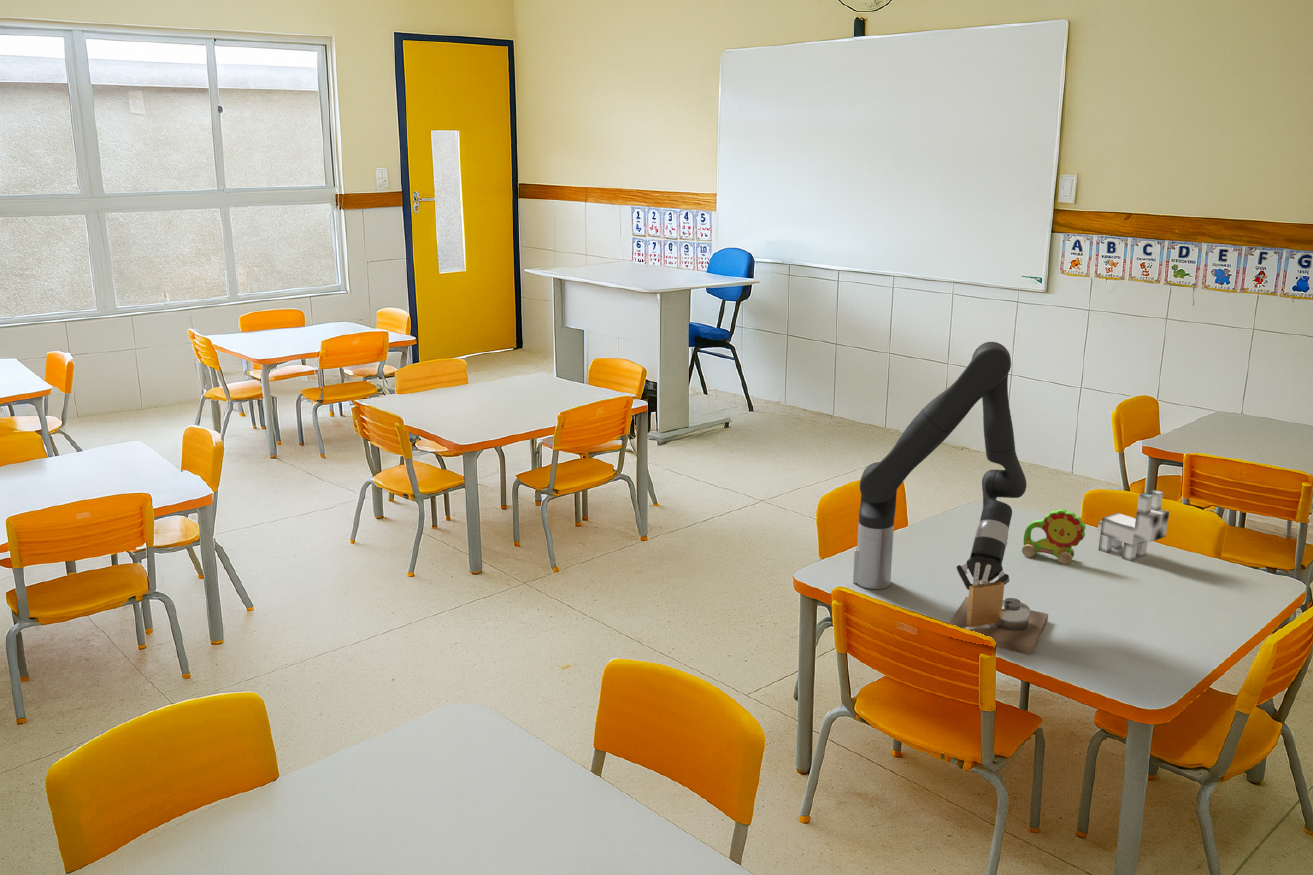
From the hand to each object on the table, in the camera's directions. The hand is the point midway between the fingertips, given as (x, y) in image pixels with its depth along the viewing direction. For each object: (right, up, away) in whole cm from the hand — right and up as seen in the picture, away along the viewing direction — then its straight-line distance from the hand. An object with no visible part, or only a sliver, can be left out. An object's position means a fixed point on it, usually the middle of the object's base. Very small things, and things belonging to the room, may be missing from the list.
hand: (975, 606), depth 237 cm
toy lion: (+37, +6, +46) cm, 59 cm away
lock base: (+7, -6, +5) cm, 10 cm away
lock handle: (+6, -4, +1) cm, 7 cm away
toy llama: (+59, +7, +49) cm, 77 cm away
